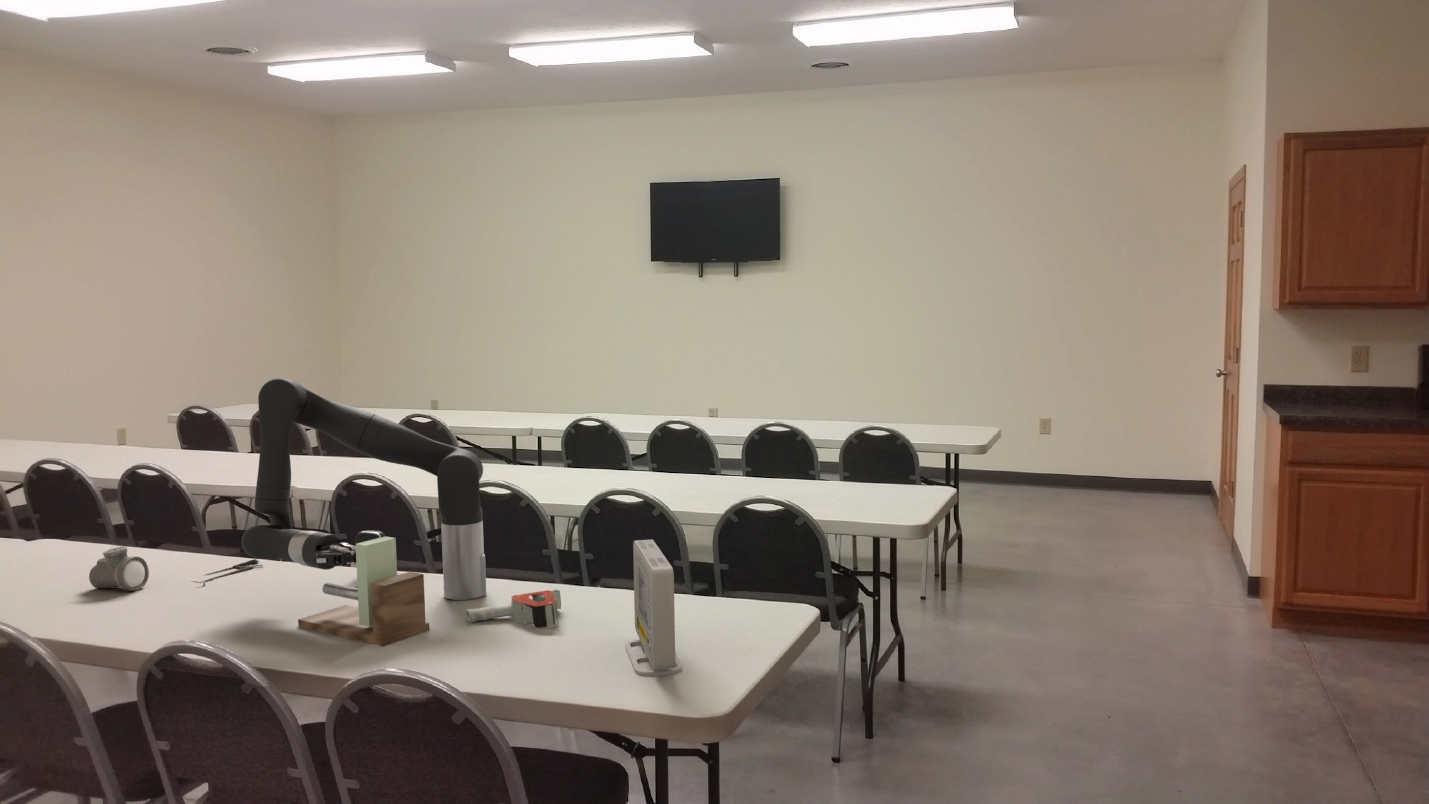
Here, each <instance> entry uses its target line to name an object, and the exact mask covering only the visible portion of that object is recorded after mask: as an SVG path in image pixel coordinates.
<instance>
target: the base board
mask: <svg viewBox="0 0 1429 804" xmlns="http://www.w3.org/2000/svg"><path fill="white" fill-rule="evenodd" d="M371 598H372V620H373V626H370V627H368V626H364V625H360V624H359V607H356V606H352V605H347V604H344V605H341V606H337V607H334V608H332V609H327V610H325V611H321V612H318V613H314V614H312V615H309V616H308V615H307V616H305V617H302V618H301V617H300V618H298V619H297V622H298V625H297V626H298V627H300V628H303V629H308V630H311V629H312V630H311V631H315V632H321V633H326V634H329V635H333V636H337V637H342V638H345V639H349V640H353V641H358V642H362V643H365V644H369V645H370V644H371V645H374V646H378V647H384V648H385V647H386V646H389V645H392V644H394V643H397V642H400V641H403V640H405V639H409V638H411V637H415V636H417V635H420V634H422V633H426V632H428V631H430V622H426V605H425V604H426V602H425V599H426V598H425V577H424V573H421V572H420V573H419V572H413V571H407V572H405V573H400V574H397V576H393V577H390V578H386V579H383V580H379V581H376V582H373V583H371Z"/></svg>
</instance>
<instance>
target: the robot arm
mask: <svg viewBox="0 0 1429 804" xmlns="http://www.w3.org/2000/svg"><path fill="white" fill-rule="evenodd" d="M257 397H258V398H257V400H258V416H259V418H258V419H259V439H260V440H259V457H258V458H259V459H258V460H259V461H258V469H257V478H256V485H255V486H256V487H255V496H254V497H255V498H254V510H255V511H256V512H257V513H259V514H262V515H267V517H268V518H269V522H270V524H256V525H252V526H250V527H249V528H247V529H245V531H244V532H243V534H242V536H241V539H240V540H241V542H240V543H241V547H242V549H243V552H244V553H246V554H247V555H248V556H249V557H251V558H255V559H265V560H266V559H267V560H268V559H269V560H281V561H282V560H283V561H287V562H290V563H294V564H295V563H296V564H299V565H301V566H305V567H310V568H314V569H319V570H332V569H333V568H335V567H336V566H337V567H339V566H340V567H342V566H343V567H345V566H347V565H357V564H356V545H353V544H349V542H344V541H343V540H342V539H341V537H339V536H338V535H336V534H334V533H330V532H329V533H328V532H327V533H326V532H322V531H315V530H302V529H295V528H293V527H292V519H291V513H290V508H289V504H290V497H291V496H290V495H291V494H290V493H291V486H292V466H291V465H292V463H291V457H290V444H291V443H290V442H291V441H290V440H291V431H292V427H293V424H294V423H295V424H298V425H300V426H301V425H302V426H304V427H309V428H310V429H314V430H316V431H319V432H321V433H323V434H325V435H327V436H328V437H330V438H332V439H333V440H335V441H337V442H338V443H340V444H341V445H343V446H345V447H347V448H349V449H352V450H353V451H356V452H357V453H360V454H363V455H366V456H367V457H370V458H373V459H375V460H378V461H382V462H386V463H392V464H396V465H402V466H407V467H413V468H417V469H419V470H423V471H425V472H427V473H429V474H430V475H431V474H432V475H433V476H436V477H437V478H436V480H437V481H436V483H437V485H436V486H437V499H438V500H437V501H438V509H439V514H440V521H441V522H440V523H441V525H440V526H441V547H442V548H441V549H442V569H443V570H442V573H443V574H442V576H443V579H442V581H443V597H444V598H445V599H448V600H453V601H465V600H466V601H467V600H472V599H474V600H475V599H478V598H481V597H486V596H487V577H486V574H487V571H486V555H485V551H484V550H485V549H484V546H485V545H484V524H483V523H484V522H483V519H484V518H483V509H482V506H481V496H480V493H481V492H480V480H481V479H482V477H483V474H484V466H483V463H482V461H481V459H480V458H479V456H478V455H477V454H475V453H474V452H472V451H470V450H468V449H464V448H461V447H456V446H453V445H450V444H446V443H443V442H439V441H436V440H433V439H431V438H428V437H427V436H424V435H422V434H420V433H419V432H416V431H414V430H412V429H410V428H408V427H406V426H404V425H401V424H399V423H397V422H395V421H392V420H390V419H388V418H385V417H383V416H380V415H378V414H375V413H372V412H370V411H368V410H364V409H360V408H357V407H354V406H352V405H351V406H350V405H346V404H343V403H338V402H336V401H333V400H330V399H328V398H326V397H325V396H322V395H320V394H318V393H317V392H314V391H313V390H310V389H309V388H307V387H305V386H303V385H302V384H300V383H299V382H296V381H295V380H291V379H287V378H282V377H281V378H280V377H279V378H273V379H271V380H268V381H267V382H266V383H264V384H263V385H262V387H261V388H260V390H259V393H258V396H257Z"/></svg>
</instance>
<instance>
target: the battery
mask: <svg viewBox="0 0 1429 804" xmlns="http://www.w3.org/2000/svg"><path fill="white" fill-rule="evenodd" d="M385 536H386V535H385V533H384V532H383V531H380V530H362V531H359V532H358V533H357V534H356V536H355V545H356V544H357V543H361V542H365V541H369V540H373V539H377V538H381V537H385Z"/></svg>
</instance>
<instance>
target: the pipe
mask: <svg viewBox="0 0 1429 804" xmlns="http://www.w3.org/2000/svg"><path fill="white" fill-rule="evenodd" d="M321 589H322V593H324V594H325V595H330V596H335V597H339V598H343V599H349V600H353V601H354V600H355V601H358V587H353V586H347V585H342V584H338V583H332V582H325V583H324V584H323V586H322V588H321Z"/></svg>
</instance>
